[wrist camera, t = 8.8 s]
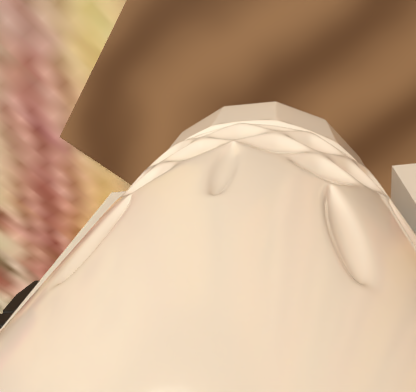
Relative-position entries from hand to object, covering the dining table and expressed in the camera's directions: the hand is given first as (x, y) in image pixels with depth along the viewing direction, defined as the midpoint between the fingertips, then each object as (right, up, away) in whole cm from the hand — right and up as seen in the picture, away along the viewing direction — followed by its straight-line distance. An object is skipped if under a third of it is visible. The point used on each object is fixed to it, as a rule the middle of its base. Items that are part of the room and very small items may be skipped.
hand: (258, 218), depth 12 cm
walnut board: (+2, +7, +12) cm, 14 cm away
